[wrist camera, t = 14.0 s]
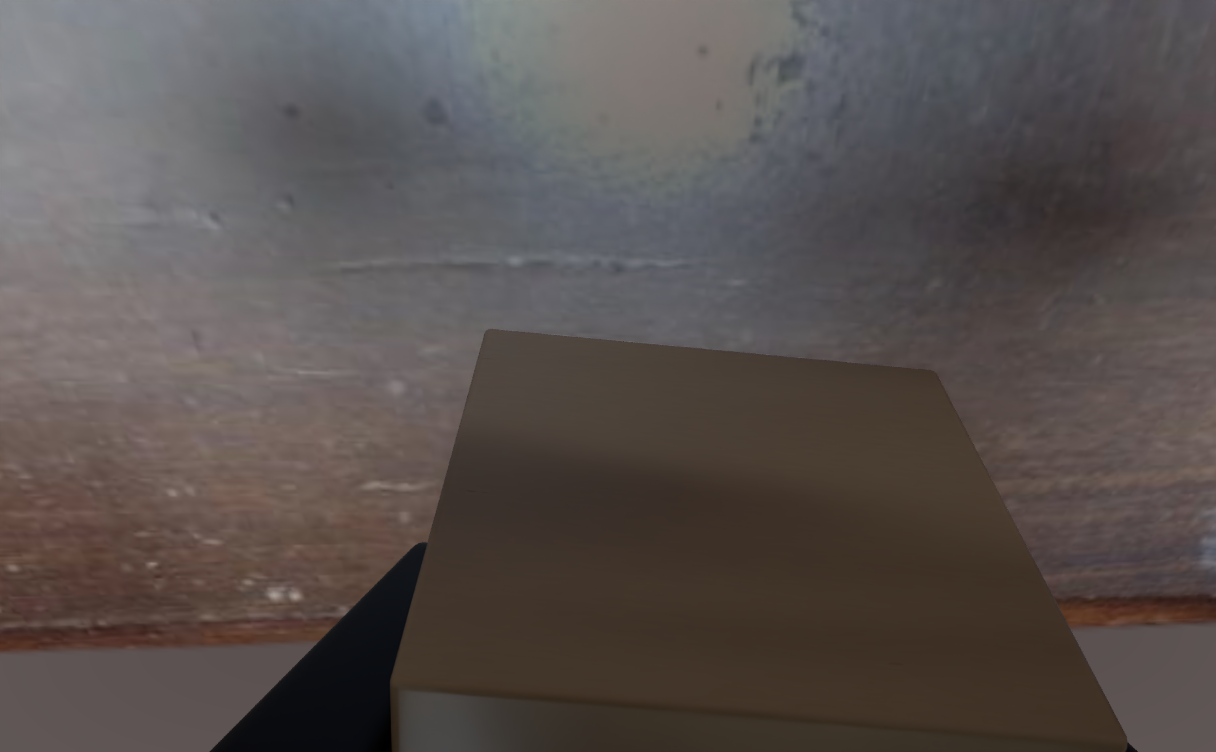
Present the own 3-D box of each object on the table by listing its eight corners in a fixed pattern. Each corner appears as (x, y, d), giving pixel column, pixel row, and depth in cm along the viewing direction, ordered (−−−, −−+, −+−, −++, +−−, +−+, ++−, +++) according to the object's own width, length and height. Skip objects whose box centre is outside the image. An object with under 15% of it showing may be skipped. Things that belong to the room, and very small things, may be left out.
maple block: (838, 682, 11) (937, 1101, 7) (473, 652, 11) (398, 1062, 7) (937, 366, 9) (1136, 743, 5) (485, 325, 9) (388, 681, 5)
